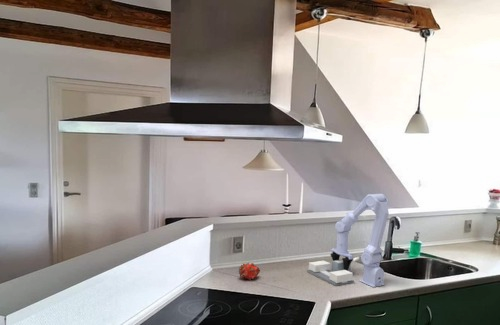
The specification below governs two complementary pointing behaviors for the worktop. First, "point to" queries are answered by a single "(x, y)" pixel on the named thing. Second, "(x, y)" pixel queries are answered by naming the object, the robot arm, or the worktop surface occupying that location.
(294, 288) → the worktop surface
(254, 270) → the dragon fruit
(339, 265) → the block
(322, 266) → the rail board
